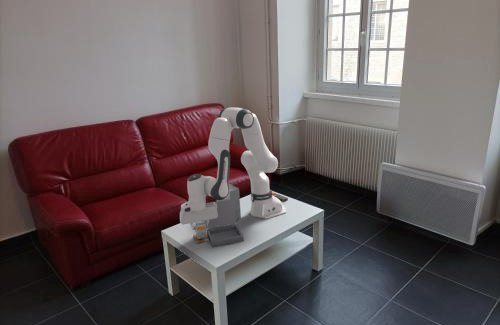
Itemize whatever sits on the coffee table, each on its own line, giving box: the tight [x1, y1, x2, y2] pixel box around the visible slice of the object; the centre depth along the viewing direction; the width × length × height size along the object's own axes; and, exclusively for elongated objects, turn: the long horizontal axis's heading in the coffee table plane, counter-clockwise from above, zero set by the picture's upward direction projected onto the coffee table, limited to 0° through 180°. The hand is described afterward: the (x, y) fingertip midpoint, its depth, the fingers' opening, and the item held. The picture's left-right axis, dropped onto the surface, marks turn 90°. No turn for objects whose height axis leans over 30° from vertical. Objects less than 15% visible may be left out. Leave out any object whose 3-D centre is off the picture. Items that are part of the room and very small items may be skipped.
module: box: [193, 221, 208, 239], centre depth 196 cm, size 5×6×8 cm
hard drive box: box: [215, 183, 242, 221], centre depth 220 cm, size 16×8×20 cm, turn 37°
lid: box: [204, 199, 237, 230], centre depth 204 cm, size 17×14×1 cm
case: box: [206, 224, 245, 248], centre depth 197 cm, size 17×14×3 cm
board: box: [193, 233, 210, 245], centre depth 198 cm, size 7×9×1 cm
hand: (200, 228), depth 196 cm, fingers open, 5 cm apart
